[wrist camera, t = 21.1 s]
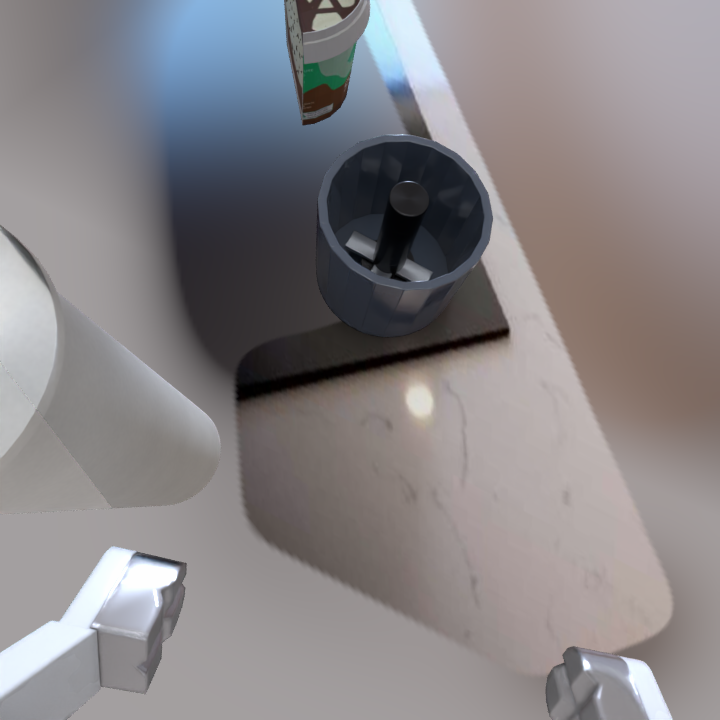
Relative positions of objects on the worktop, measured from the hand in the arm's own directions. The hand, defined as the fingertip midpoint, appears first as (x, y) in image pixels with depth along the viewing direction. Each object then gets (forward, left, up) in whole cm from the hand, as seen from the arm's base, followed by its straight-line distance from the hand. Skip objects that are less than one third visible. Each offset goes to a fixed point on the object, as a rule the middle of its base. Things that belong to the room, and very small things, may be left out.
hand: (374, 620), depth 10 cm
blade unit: (-13, +17, -25) cm, 33 cm away
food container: (-31, +26, -26) cm, 48 cm away
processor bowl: (-13, +17, -26) cm, 34 cm away
